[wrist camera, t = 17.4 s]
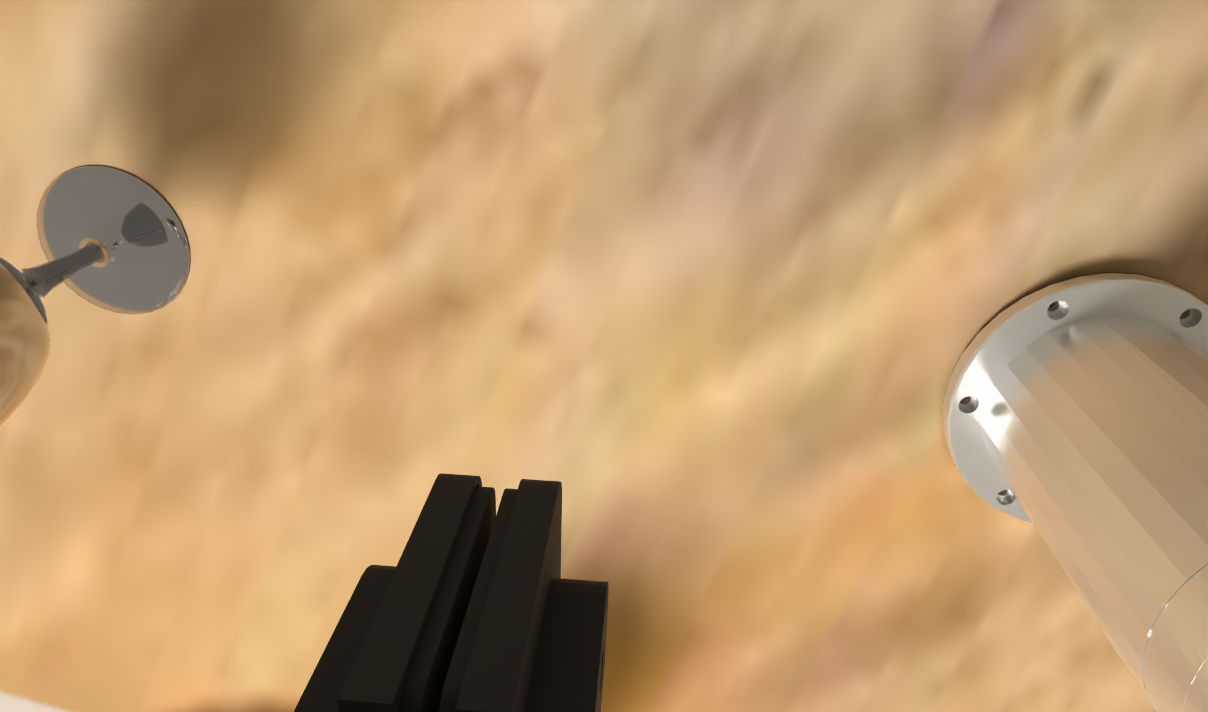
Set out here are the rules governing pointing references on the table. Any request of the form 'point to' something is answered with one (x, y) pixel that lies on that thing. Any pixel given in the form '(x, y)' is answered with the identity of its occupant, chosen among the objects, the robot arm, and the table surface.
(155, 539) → the table surface
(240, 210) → the table surface
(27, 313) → the wine glass
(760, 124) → the table surface
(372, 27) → the table surface
